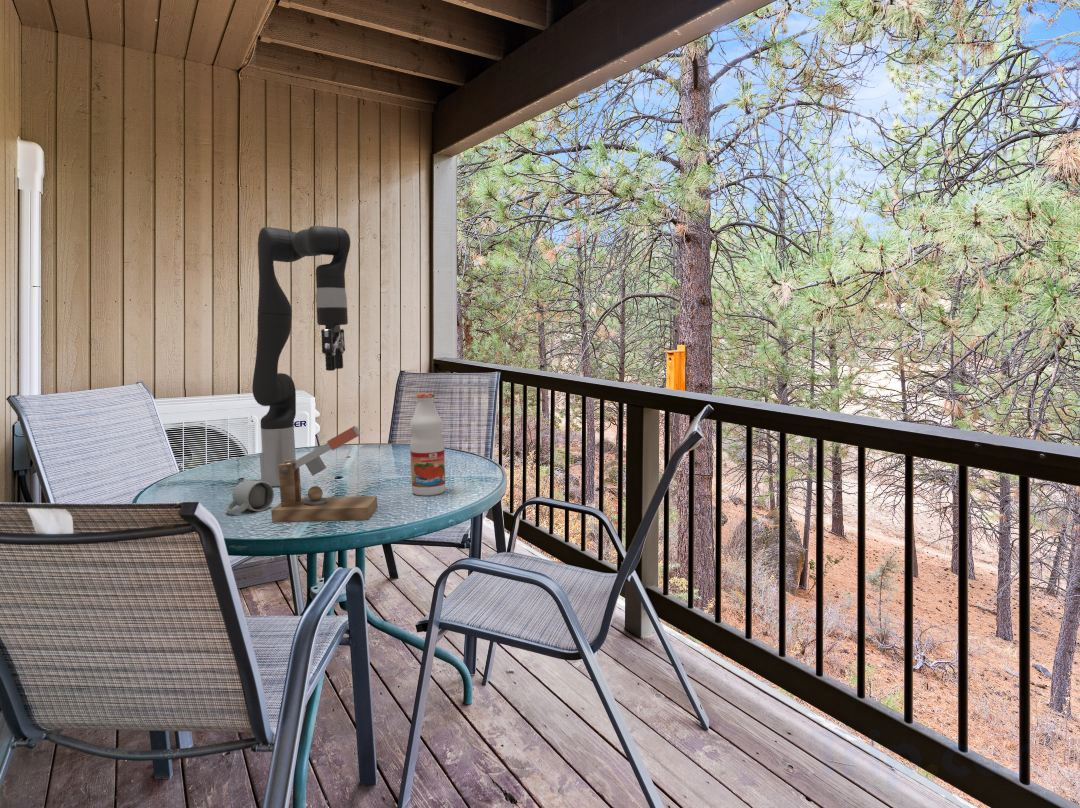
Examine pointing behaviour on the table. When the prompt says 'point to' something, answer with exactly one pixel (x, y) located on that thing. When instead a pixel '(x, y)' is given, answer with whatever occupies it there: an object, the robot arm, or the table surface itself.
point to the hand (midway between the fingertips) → (334, 369)
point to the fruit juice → (427, 448)
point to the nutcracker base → (316, 502)
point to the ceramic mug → (251, 497)
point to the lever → (313, 458)
